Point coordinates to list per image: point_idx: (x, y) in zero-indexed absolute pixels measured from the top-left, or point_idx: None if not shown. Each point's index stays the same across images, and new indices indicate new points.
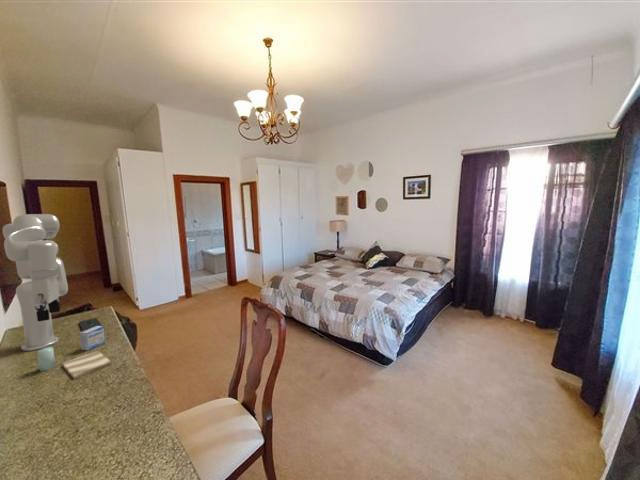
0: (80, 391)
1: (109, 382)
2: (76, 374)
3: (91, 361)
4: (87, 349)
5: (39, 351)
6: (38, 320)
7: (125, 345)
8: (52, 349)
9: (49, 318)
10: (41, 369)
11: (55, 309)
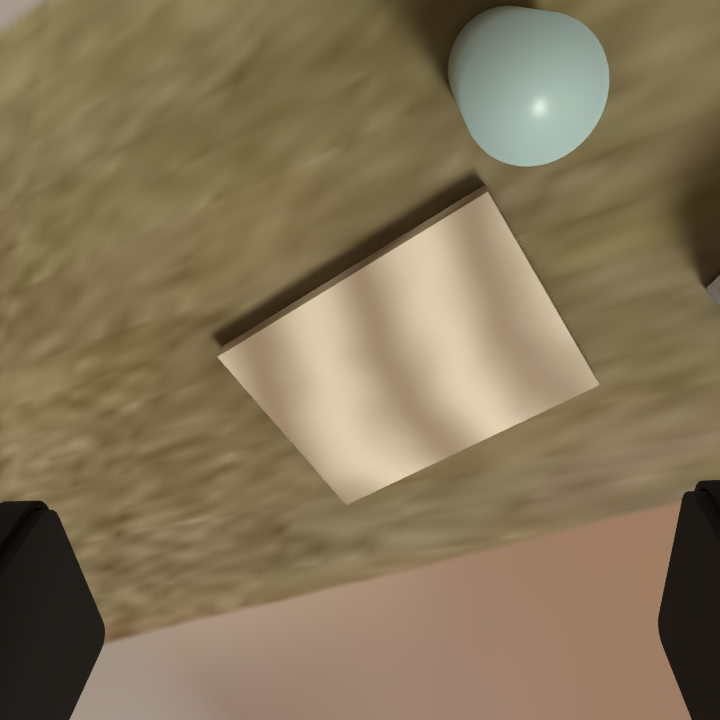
0: (66, 424)
1: (127, 524)
2: (233, 365)
3: (407, 395)
4: (716, 283)
5: (511, 43)
6: (3, 521)
7: (631, 508)
8: (520, 164)
9: (90, 655)
10: (453, 45)
11: (692, 644)
